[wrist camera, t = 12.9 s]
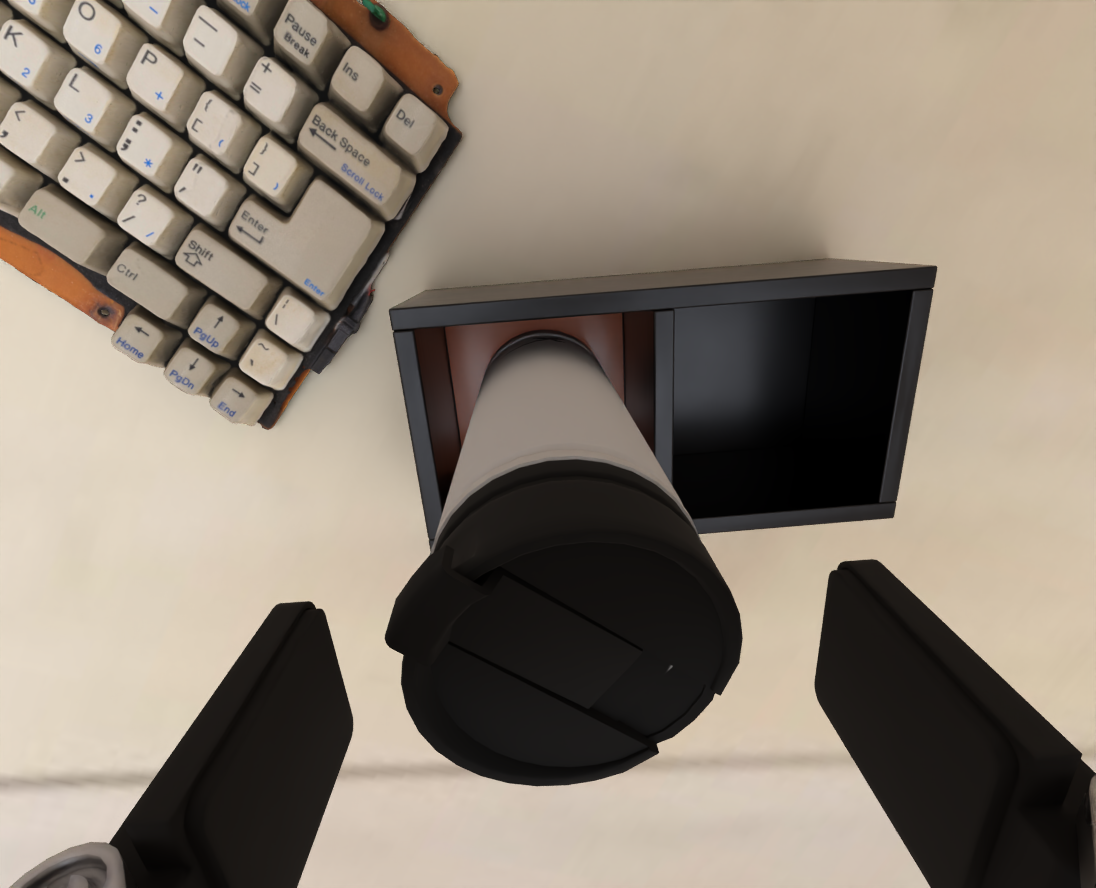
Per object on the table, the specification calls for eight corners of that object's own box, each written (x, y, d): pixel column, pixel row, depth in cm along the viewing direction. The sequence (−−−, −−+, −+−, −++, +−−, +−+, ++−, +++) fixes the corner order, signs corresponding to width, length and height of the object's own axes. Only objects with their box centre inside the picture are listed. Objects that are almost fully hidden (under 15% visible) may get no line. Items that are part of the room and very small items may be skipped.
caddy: (424, 289, 27) (388, 309, 20) (830, 258, 27) (938, 265, 20) (453, 483, 30) (431, 557, 23) (809, 454, 30) (894, 518, 23)
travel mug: (524, 298, 26) (521, 448, 7) (629, 377, 28) (843, 664, 9) (452, 399, 28) (303, 730, 9) (555, 468, 29) (608, 871, 11)
